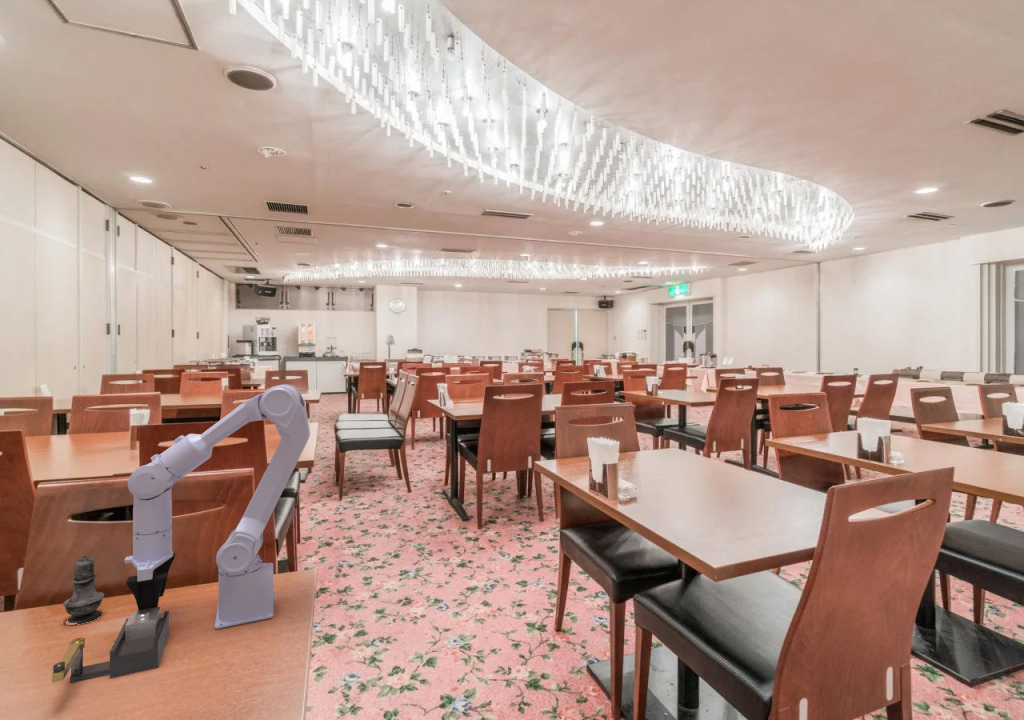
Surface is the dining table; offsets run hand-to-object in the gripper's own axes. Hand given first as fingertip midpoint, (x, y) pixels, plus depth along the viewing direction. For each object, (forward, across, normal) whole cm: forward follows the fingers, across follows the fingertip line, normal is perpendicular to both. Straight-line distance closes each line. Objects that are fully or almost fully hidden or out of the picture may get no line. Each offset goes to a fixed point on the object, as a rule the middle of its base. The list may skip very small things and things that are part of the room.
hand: (152, 605), depth 90 cm
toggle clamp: (+4, +9, -3) cm, 10 cm away
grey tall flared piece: (+4, -10, -12) cm, 16 cm away
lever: (0, +16, -7) cm, 18 cm away
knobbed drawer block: (+1, +8, 0) cm, 8 cm away
